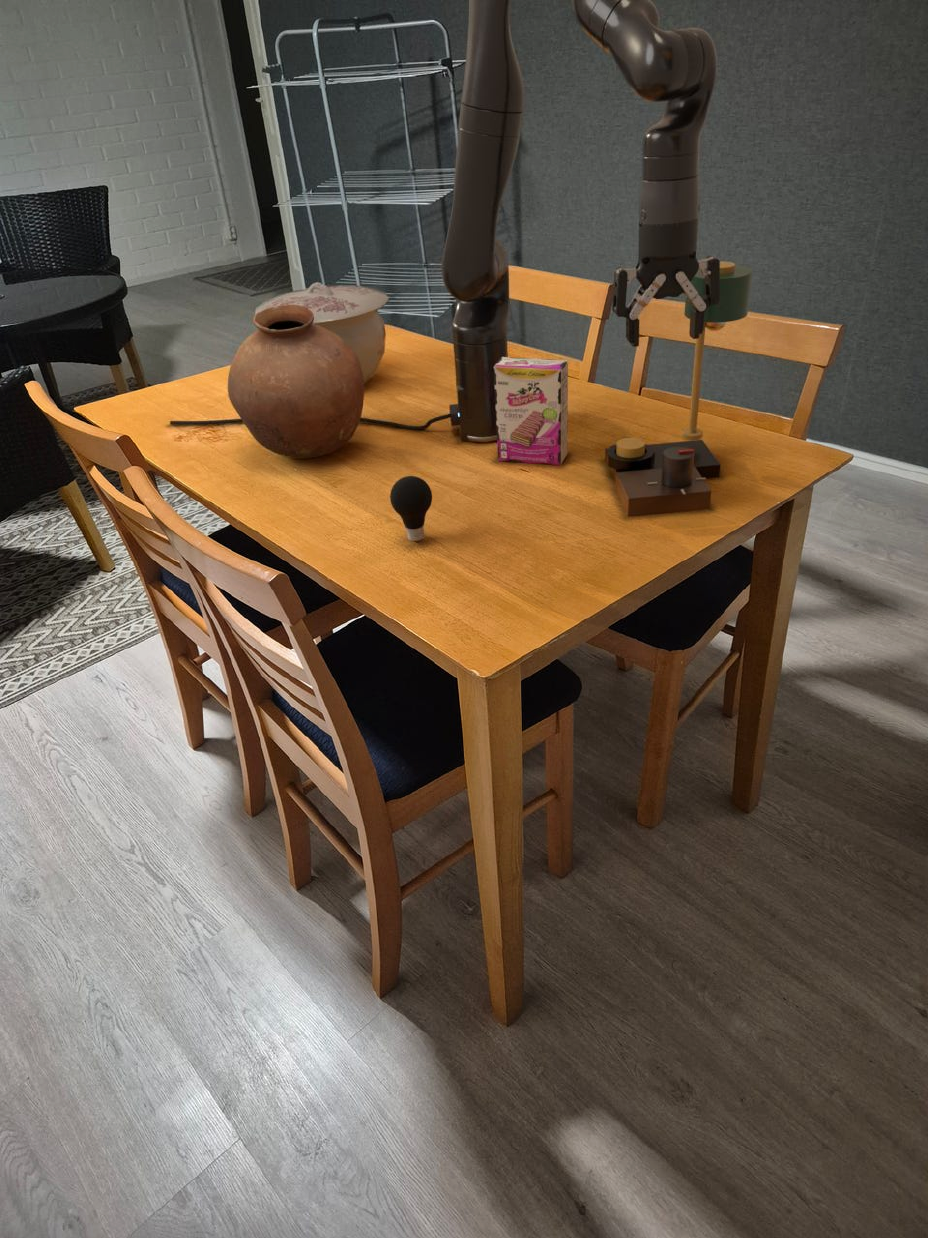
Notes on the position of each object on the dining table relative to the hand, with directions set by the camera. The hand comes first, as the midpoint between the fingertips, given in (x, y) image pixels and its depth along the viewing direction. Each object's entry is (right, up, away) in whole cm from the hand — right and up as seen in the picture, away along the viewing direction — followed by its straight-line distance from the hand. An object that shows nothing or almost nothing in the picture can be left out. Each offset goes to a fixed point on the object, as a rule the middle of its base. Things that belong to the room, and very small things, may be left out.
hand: (664, 341), depth 119 cm
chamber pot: (-56, +12, +64) cm, 86 cm away
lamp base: (+3, -15, +17) cm, 23 cm away
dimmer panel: (+2, -21, +8) cm, 23 cm away
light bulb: (-35, -28, +3) cm, 45 cm away
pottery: (-56, -9, +34) cm, 66 cm away
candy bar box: (-16, -12, +24) cm, 31 cm away
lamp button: (-2, -13, +14) cm, 19 cm away
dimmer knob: (+3, -19, +6) cm, 20 cm away
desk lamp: (+10, -10, +17) cm, 22 cm away
